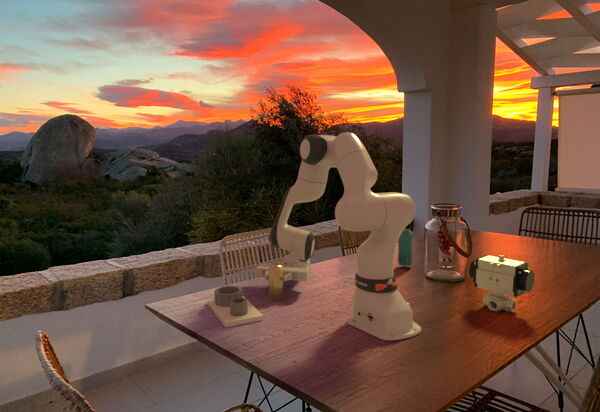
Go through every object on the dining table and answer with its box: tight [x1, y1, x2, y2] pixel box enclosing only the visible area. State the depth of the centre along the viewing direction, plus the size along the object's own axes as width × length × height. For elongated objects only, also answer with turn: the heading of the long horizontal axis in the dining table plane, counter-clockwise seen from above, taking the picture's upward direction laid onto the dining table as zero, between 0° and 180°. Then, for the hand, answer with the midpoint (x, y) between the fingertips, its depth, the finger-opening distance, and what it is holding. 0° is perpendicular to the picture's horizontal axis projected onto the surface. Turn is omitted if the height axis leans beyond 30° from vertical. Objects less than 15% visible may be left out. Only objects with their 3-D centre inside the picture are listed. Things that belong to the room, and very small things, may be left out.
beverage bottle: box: [397, 223, 414, 267], centre depth 184 cm, size 6×7×20 cm
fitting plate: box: [207, 285, 264, 328], centre depth 137 cm, size 22×12×6 cm, turn 26°
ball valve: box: [468, 254, 536, 312], centre depth 136 cm, size 18×8×18 cm, turn 40°
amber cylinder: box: [268, 262, 284, 302], centre depth 149 cm, size 5×5×12 cm
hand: (274, 278), depth 148 cm, fingers closed on amber cylinder, 5 cm apart
